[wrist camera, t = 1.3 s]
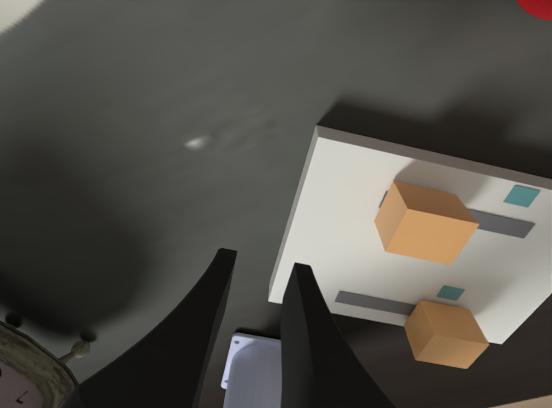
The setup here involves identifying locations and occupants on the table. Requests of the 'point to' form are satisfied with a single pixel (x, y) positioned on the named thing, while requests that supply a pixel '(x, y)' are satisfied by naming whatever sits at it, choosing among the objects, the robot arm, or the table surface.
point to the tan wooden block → (444, 334)
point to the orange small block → (424, 223)
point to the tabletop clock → (34, 371)
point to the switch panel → (407, 270)
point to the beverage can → (537, 8)
